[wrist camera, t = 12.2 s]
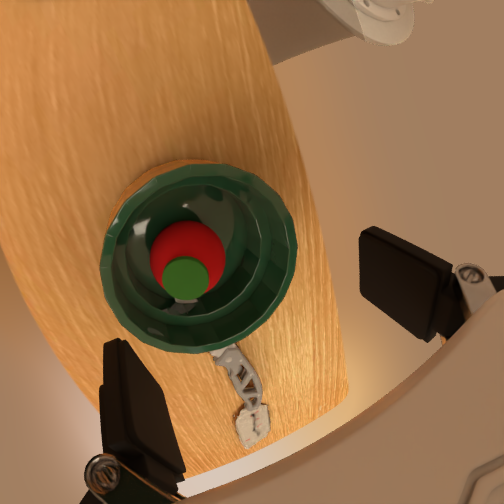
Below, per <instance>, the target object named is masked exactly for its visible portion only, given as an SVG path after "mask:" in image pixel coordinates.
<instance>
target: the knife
mask: <svg viewBox="0 0 504 504" xmlns="http://www.w3.org/2000/svg"><path fill="white" fill-rule="evenodd" d="M175 301H176V302H178V303H194V302H198V300H197V299H193V300H180V299H177V298H175ZM209 352H210V354H211V355H212V356H214V357H213V360H214V361H215V364H216V365H219V366H225V367H226V368H227V370H228V376H229V378H230V379H231V380H232V382H233V385H234V388H235V390H236V392H237V393H238V395H239V396H240V397H241V398H242V399H243V400H244V401H245V403H244V406H245V407H246V409H247V411H253V410H256V409H258V408H259V406H260V404H261V400H262V384H261V381H260V378H259V377H258V375H257V373H256V371H255V370H254V368H253V367H252V366H251V364H250V363H249V362H248V360H247V359H246V358H245V356H244V355H243V354H242V352H241V351H240V349H239V348H238V346H237V345H236V344H235V343H233V344H231V345H229V346H227V347H225V348H222V349H219V350H214V351H209ZM240 364H242V365H243V366H244V370H243V369H242V367H241V365H240ZM237 374H238V375H239V377H240V379H241V380H242V381H241V382H240V380H239V378H238V377H237ZM251 379H252V381H253V384H254V387H247V388H245V387H246V385H247V384H248V383H249V381H250V380H251ZM251 397H254V399H253V400H251V401H250V399H249V398H251Z"/></svg>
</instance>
